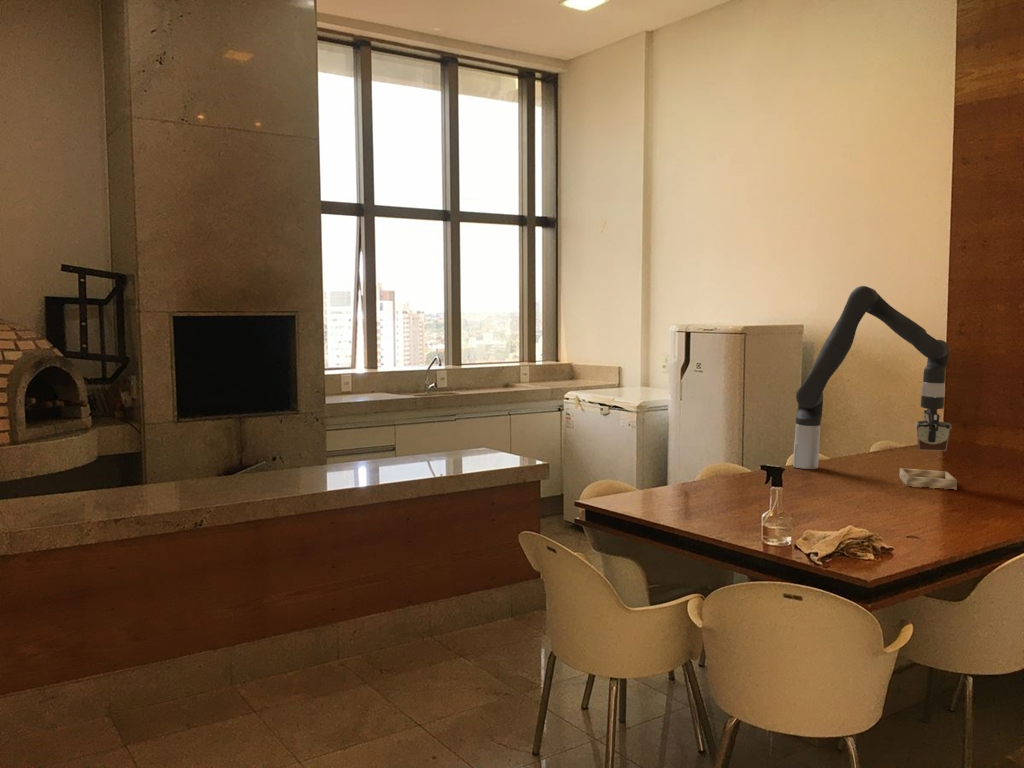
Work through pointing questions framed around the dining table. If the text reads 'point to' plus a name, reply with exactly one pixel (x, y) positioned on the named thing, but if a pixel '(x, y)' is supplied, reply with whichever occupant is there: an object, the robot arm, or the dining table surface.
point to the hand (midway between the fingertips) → (929, 440)
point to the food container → (941, 436)
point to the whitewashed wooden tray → (928, 478)
